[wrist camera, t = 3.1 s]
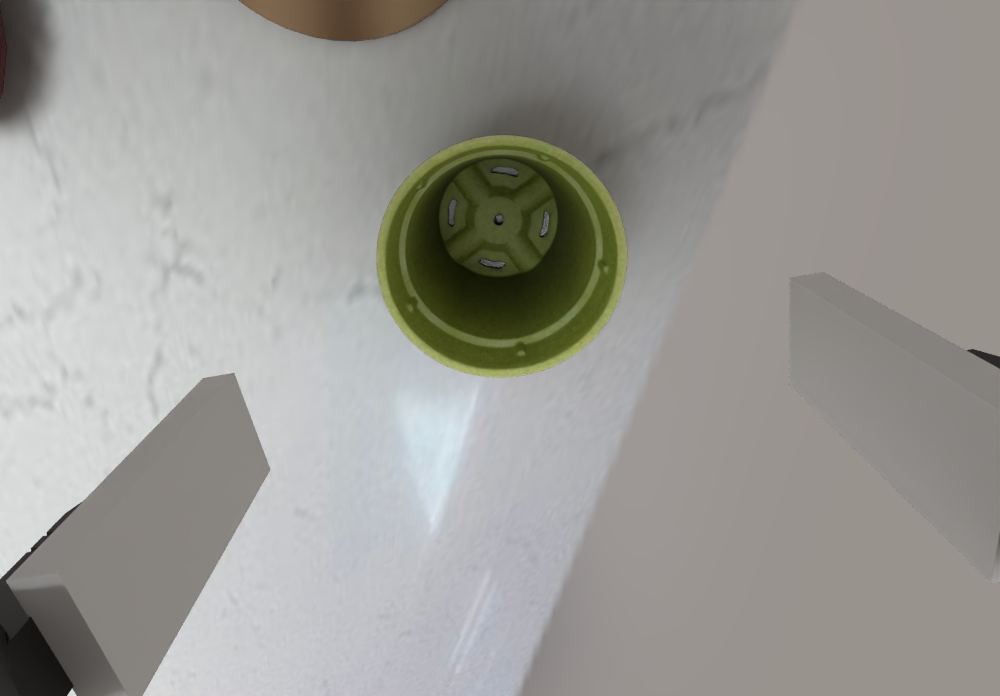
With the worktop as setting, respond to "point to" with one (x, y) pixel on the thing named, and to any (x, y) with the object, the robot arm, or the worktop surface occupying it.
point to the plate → (345, 16)
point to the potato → (2, 55)
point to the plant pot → (501, 257)
